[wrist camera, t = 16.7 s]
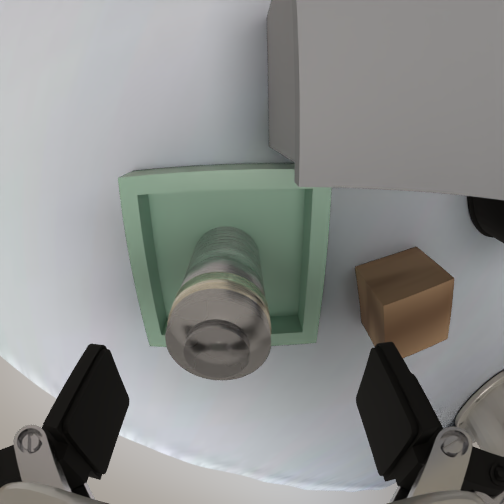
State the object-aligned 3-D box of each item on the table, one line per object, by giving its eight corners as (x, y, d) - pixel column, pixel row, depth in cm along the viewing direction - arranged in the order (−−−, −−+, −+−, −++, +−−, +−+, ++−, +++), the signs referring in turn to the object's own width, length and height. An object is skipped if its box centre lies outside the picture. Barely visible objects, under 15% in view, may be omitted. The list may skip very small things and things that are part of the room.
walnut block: (416, 301, 21) (447, 338, 17) (361, 321, 22) (384, 365, 17) (415, 246, 19) (454, 278, 15) (354, 265, 20) (383, 305, 15)
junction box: (462, 167, 17) (577, 212, 7) (263, 151, 16) (299, 187, 7) (462, 54, 13) (575, 44, 4) (261, 12, 13) (287, -100, 3)
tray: (308, 320, 21) (316, 342, 19) (157, 324, 21) (149, 346, 18) (319, 164, 17) (332, 170, 14) (133, 170, 16) (118, 177, 14)
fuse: (260, 287, 19) (272, 390, 11) (195, 288, 19) (170, 390, 11) (260, 224, 17) (277, 306, 10) (189, 225, 17) (150, 307, 9)
